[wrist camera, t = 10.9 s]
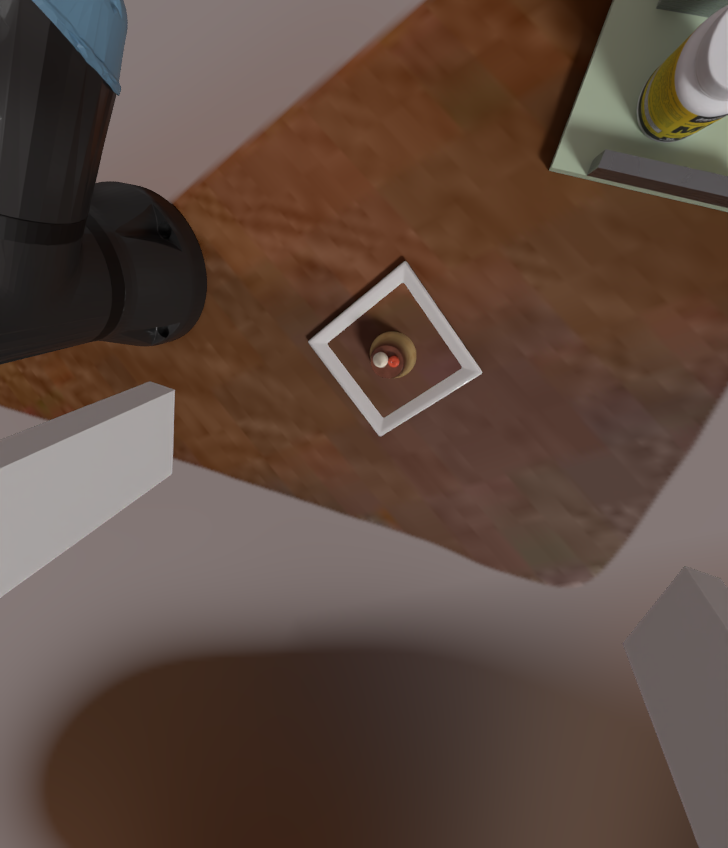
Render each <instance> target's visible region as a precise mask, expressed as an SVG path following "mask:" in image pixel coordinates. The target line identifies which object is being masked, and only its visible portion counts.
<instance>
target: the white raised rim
mask: <svg viewBox="0 0 728 848" xmlns="http://www.w3.org/2000/svg"><path fill="white" fill-rule="evenodd" d="M401 283H405V285H406V286H407V288H408V289H409V290H410V292H411V293H412V295H413V296H414V298H415V299H416V301H417V302H418V303H419V305H420V306H421V308H422V309H423V311H424V312H425V314H426V315H427V317H428V318H429V319H430V321H431V322H432V324H433V325H434V327H435V328H436V330H437V331H438V332H439V334H440V335H441V337H442V338H443V340H444V341H445V343H446V344H447V345H448V347H449V348H450V350H451V351H452V353H453V354H454V356H455V357H456V358H457V360H458V361H459V363H460V364H461V366H462V369H460V370H459V371H457V372H456V373H454V374H453V375H451V376H449V377H448V378H446V379H445V380H443V381H442V382H440V383H438V384H437V385H435V386H434V387H432V388H431V389H429V390H427V391H426V392H424V393H423V394H421V395H420V396H418V397H416V398H415V399H413V400H412V401H410V402H409V403H407V404H405V405H404V406H402V407H401V408H399V409H398V410H396V411H394V412H393V413H391V414H390V415H388V416H387V417H385V418H383V417H382V416H381V415H380V414H379V412H378V411H377V410H376V408H375V407H374V406H373V404H372V403H371V402H370V400H369V399H368V398H367V396H366V395H365V394H364V392H363V391H362V390H361V388H360V387H359V386H358V384H357V383H356V382H355V380H354V379H353V378H352V377H351V375H350V374H349V373H348V371H347V370H346V369H345V367H344V366H343V365H342V363H341V362H340V361H339V359H338V358H337V357H336V355H335V354H334V353H333V351H332V350H331V349H330V347H329V346H328V342H329V341H331V340H332V339H333V338H334V337H335V336H337V335H338V334H339V333H340V332H342V331H343V330H344V329H345V328H347V327H348V326H349V325H350V324H352V323H353V322H354V321H355V320H356V319H358V318H359V317H360V316H361V315H363V314H364V313H365V312H366V311H368V310H369V309H370V308H371V307H373V306H374V305H375V304H376V303H378V302H379V301H380V300H381V299H382V298H384V297H385V296H386V295H387V294H389V293H390V292H391V291H392V290H394V289H395V288H396V287H397V286H399V285H400V284H401ZM308 343H309V345H310V346H311V347H312V349H313V350H314V351H315V352H316V354H317V355H318V356H319V358H320V359H321V360H322V362H323V363H324V364H325V366H326V367H327V368H328V370H329V371H330V372H331V373H332V375H333V376H334V377H335V379H336V380H337V381H338V383H339V384H340V385H341V387H342V388H343V389H344V391H345V392H346V393H347V394H348V396H349V397H350V398H351V400H352V401H353V402H354V404H355V405H356V406H357V408H358V409H359V410H360V412H361V413H362V414H363V415H364V417H365V418H366V419H367V421H368V422H369V423H370V425H371V426H372V427H373V429H374V430H375V431H376V433H377V434H378V435H379V436H382V435H384V434H385V433H387V432H389V431H390V430H392V429H393V428H395V427H397V426H398V425H400V424H401V423H403V422H405V421H406V420H408V419H410V418H411V417H413V416H414V415H416V414H418V413H419V412H421V411H422V410H424V409H426V408H427V407H429V406H431V405H432V404H434V403H435V402H437V401H439V400H440V399H442V398H443V397H445V396H447V395H448V394H450V393H451V392H453V391H455V390H456V389H458V388H460V387H461V386H463V385H464V384H466V383H468V382H469V381H471V380H472V379H474V378H476V377H477V376H479V375H481V374H482V371H481V369H480V368H479V366H478V365H477V363H476V362H475V360H474V359H473V358H472V356H471V355H470V353H469V352H468V350H467V349H466V347H465V346H464V344H463V343H462V342H461V340H460V339H459V337H458V336H457V334H456V333H455V331H454V330H453V328H452V327H451V325H450V324H449V323H448V321H447V320H446V318H445V317H444V315H443V314H442V312H441V311H440V309H439V308H438V307H437V305H436V304H435V302H434V301H433V299H432V298H431V296H430V295H429V293H428V292H427V291H426V289H425V288H424V286H423V285H422V283H421V282H420V280H419V279H418V277H417V276H416V274H415V273H414V272H413V270H412V269H411V267H410V266H409V264H408V263H407V262H406V261H404V262H403V263H401V264H400V265H399V266H398V267H397V268H395V269H394V270H393V271H392V272H391V273H389V274H388V275H387V276H386V277H385V278H383V279H382V280H381V281H380V282H379V283H377V284H376V285H375V286H374V287H372V288H371V289H370V290H369V291H368V292H366V293H365V294H364V295H363V296H362V297H360V298H359V299H358V300H357V301H356V302H354V303H353V304H352V305H351V306H350V307H348V308H347V309H346V310H345V311H344V312H342V313H341V314H340V315H339V316H338V317H336V318H335V319H334V320H333V321H331V322H330V323H329V324H328V325H327V326H325V327H324V328H323V329H322V330H321V331H319V332H318V333H317V334H316V335H315V336H313V337H312V338H311V339H310V340H309V341H308ZM415 361H416V350H415V347H414V344H413V343H412V341H411V340H410V339H409V338H408V337H407V336H405V335H404V334H402V333H399V332H394V331H390V332H385V333H383V334H381V335H379V336H378V337H377V338H376V339H375V340H374V341H373V343H372V345H371V348H370V362H371V367H372V369H373V371H374V372H375V373H376V374H377V375H378V376H380V377H382V378H400V377H403V376H405V375H406V374H408V373H409V372H410V371H411V370H412V368H413V366H414V364H415Z"/></svg>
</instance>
